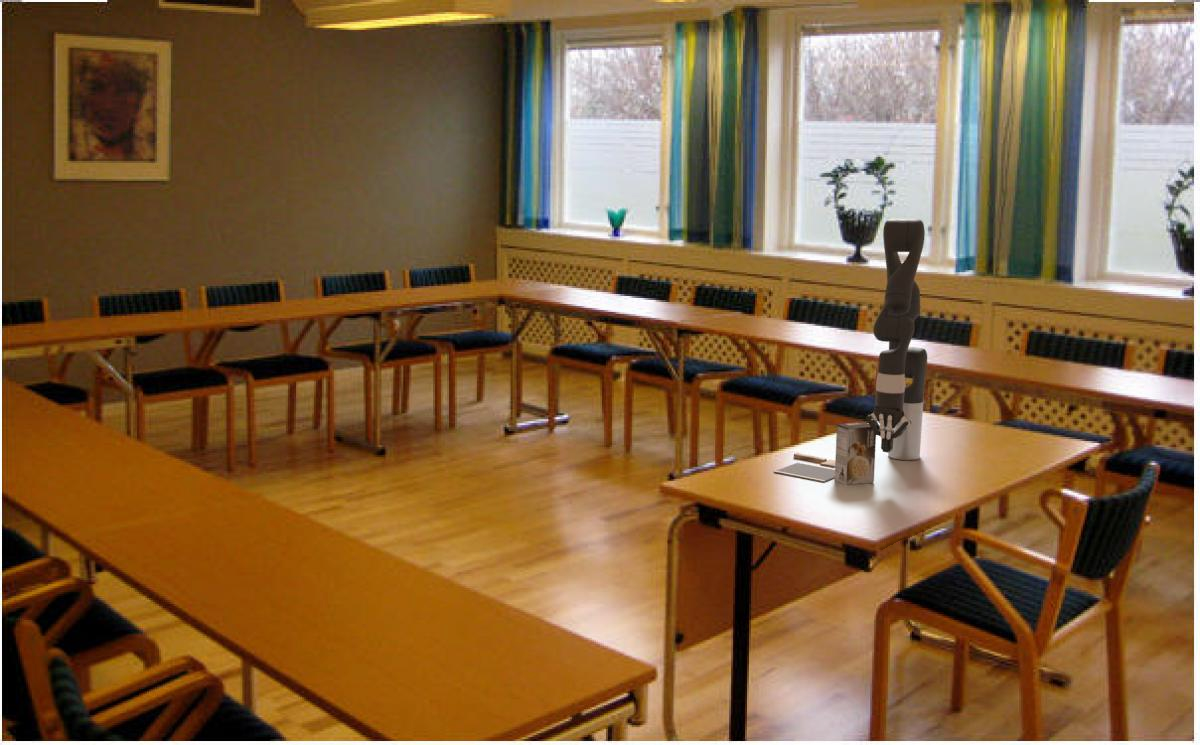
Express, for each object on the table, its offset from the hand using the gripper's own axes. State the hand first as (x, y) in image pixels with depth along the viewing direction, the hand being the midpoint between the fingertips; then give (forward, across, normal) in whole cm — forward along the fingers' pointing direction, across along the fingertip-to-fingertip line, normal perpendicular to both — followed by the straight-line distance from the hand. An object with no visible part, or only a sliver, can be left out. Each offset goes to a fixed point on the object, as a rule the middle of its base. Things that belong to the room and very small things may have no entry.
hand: (886, 451), depth 368 cm
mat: (+10, +23, 0) cm, 25 cm away
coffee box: (+10, +9, 0) cm, 14 cm away
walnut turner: (+10, +26, -13) cm, 31 cm away
